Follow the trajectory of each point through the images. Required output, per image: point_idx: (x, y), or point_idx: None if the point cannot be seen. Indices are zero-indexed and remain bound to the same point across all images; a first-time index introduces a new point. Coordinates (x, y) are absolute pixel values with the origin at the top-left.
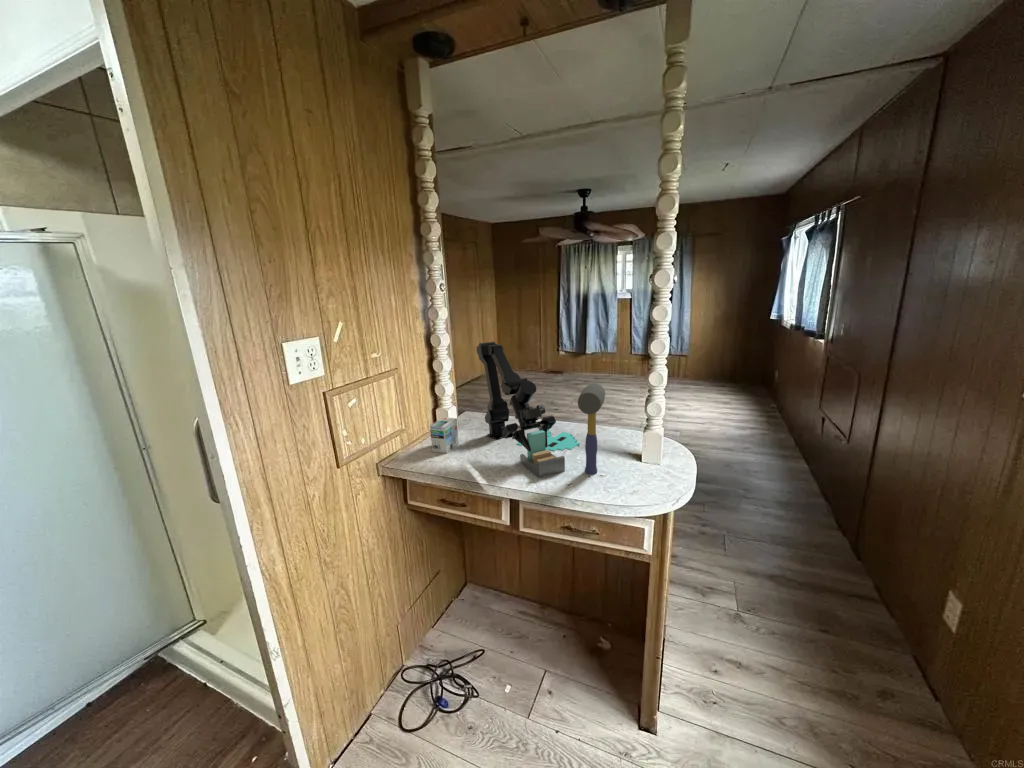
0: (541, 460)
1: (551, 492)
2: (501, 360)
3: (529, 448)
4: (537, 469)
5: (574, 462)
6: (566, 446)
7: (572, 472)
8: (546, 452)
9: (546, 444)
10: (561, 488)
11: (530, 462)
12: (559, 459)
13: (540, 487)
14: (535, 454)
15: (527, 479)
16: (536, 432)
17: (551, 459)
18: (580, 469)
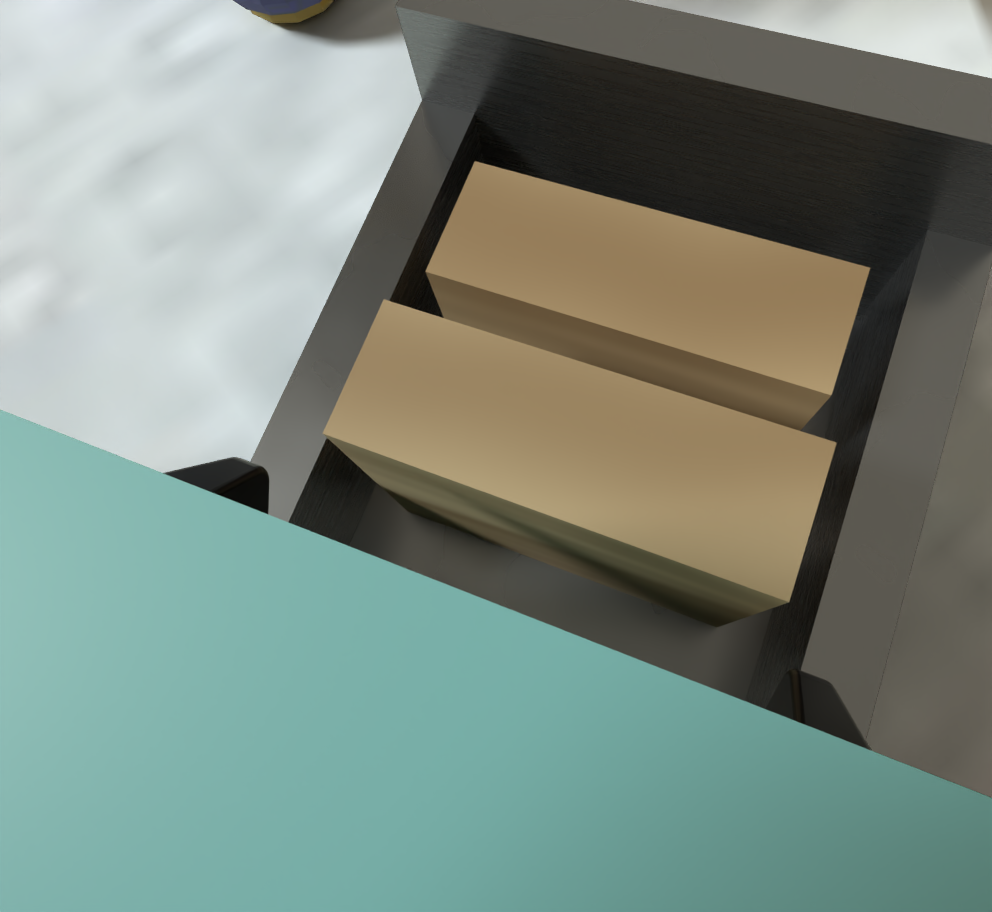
0: (774, 300)
1: (966, 53)
2: None
3: (843, 717)
4: (983, 259)
5: (67, 333)
6: None
7: (346, 182)
8: (472, 358)
9: (221, 474)
10: (791, 34)
11: (913, 535)
12: (543, 3)
13: None
14: (762, 494)
15: (968, 521)
16: (179, 783)
17: (704, 49)
18: (214, 161)
